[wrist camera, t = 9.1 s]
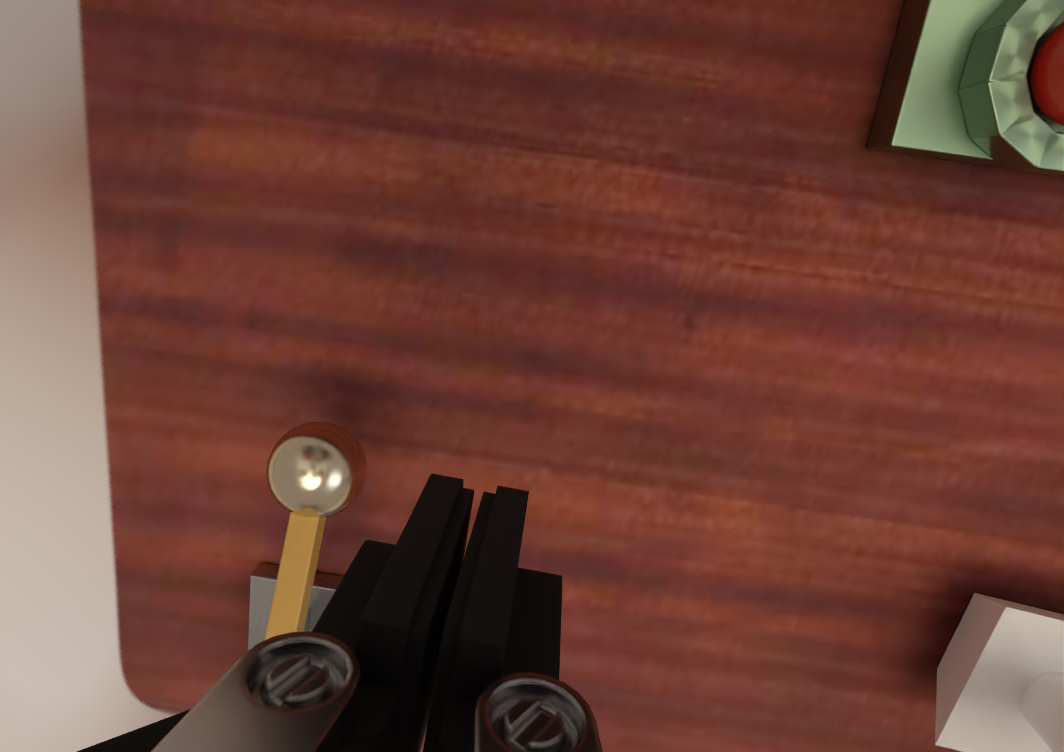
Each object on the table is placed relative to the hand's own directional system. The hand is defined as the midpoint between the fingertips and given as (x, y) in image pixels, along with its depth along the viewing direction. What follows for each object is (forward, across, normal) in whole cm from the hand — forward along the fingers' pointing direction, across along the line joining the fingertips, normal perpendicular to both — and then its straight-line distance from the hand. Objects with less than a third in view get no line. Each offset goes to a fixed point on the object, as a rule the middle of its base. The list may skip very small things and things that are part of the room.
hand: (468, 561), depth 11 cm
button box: (+19, -16, -12) cm, 28 cm away
